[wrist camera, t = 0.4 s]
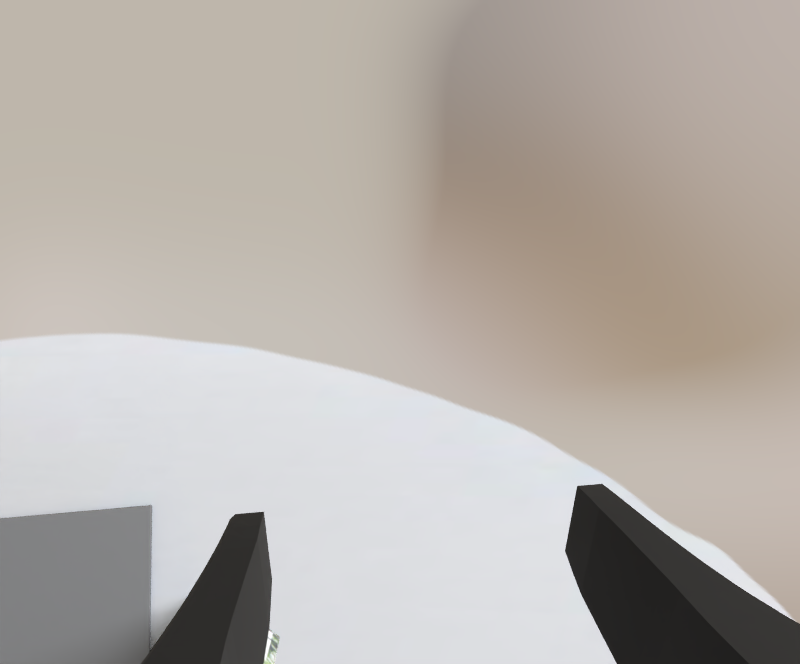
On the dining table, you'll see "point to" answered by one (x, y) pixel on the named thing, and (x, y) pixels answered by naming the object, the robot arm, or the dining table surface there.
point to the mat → (76, 587)
